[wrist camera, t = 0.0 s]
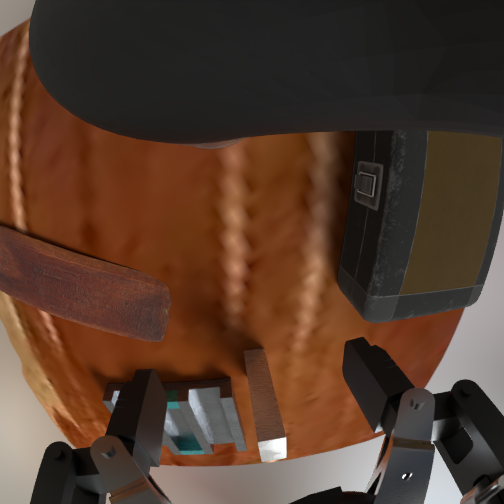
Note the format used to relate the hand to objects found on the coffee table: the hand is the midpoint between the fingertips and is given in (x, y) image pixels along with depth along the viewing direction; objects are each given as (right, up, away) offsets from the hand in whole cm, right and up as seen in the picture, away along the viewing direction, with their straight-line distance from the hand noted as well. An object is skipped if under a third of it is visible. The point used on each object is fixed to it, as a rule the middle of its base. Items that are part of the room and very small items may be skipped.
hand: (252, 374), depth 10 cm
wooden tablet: (-22, +1, +16) cm, 27 cm away
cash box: (+19, +12, +17) cm, 28 cm away
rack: (-11, -20, +25) cm, 34 cm away
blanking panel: (0, -9, +22) cm, 24 cm away
